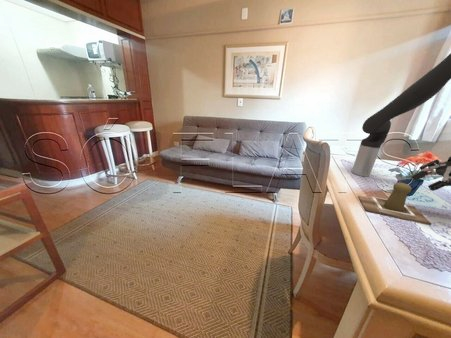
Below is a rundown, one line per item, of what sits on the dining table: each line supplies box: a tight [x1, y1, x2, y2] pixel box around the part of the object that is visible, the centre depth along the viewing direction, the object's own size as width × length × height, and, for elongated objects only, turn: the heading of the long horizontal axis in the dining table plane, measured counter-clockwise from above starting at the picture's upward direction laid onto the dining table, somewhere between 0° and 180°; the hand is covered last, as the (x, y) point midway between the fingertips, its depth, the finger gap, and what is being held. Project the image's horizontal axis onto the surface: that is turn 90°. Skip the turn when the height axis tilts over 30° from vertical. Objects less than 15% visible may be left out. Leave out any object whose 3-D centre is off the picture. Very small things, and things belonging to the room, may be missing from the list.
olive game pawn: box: [384, 182, 413, 212], centre depth 73 cm, size 6×6×11 cm
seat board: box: [357, 195, 432, 226], centre depth 75 cm, size 12×20×2 cm, turn 68°
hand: (420, 183), depth 70 cm, fingers open, 8 cm apart
